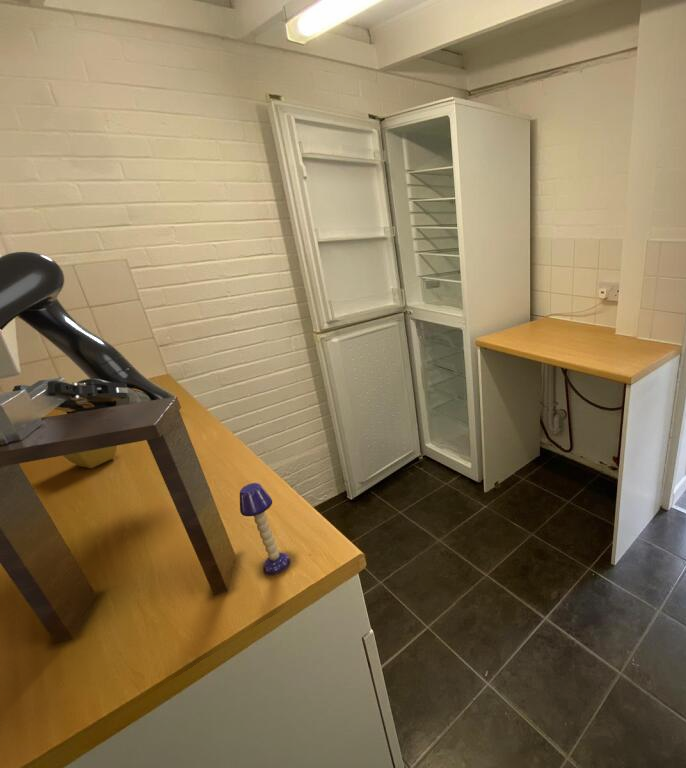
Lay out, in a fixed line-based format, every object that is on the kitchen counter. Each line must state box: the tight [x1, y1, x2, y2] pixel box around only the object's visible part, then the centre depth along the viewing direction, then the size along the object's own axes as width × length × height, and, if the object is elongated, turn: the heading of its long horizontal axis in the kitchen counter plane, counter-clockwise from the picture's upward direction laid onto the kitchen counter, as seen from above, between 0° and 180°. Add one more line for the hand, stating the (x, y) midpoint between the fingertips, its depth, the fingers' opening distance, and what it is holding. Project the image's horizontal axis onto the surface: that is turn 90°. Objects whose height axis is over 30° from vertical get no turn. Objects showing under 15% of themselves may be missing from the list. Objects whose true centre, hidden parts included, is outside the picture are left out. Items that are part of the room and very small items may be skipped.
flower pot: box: [62, 445, 118, 469], centre depth 105 cm, size 9×9×9 cm
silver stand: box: [0, 376, 68, 445], centre depth 57 cm, size 5×16×5 cm, turn 23°
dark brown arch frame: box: [0, 396, 237, 644], centre depth 62 cm, size 22×10×32 cm, turn 113°
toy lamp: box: [239, 482, 291, 576], centre depth 71 cm, size 5×5×17 cm
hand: (35, 390), depth 60 cm, fingers closed on silver stand, 3 cm apart
